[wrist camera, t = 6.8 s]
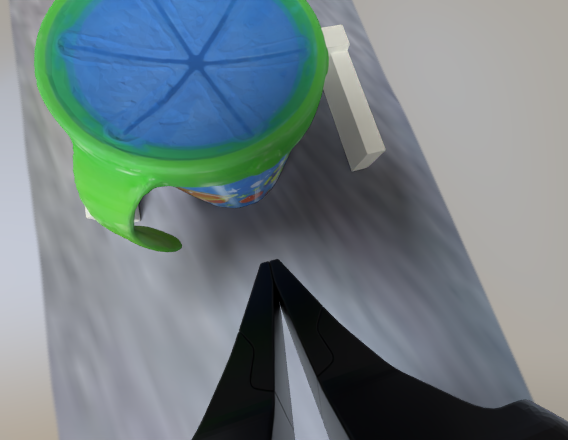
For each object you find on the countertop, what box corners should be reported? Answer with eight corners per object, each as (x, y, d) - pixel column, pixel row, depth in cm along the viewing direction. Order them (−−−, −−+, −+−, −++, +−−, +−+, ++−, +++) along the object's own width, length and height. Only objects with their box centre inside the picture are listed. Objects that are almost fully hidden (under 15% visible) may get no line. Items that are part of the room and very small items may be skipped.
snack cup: (237, 75, 19) (201, -126, 9) (331, 132, 19) (402, -17, 9) (122, 207, 16) (-123, 119, 6) (232, 281, 15) (163, 318, 5)
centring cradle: (367, 167, 18) (430, 107, 11) (120, 225, 16) (-5, 197, 9) (329, 63, 20) (361, -46, 13) (105, 101, 18) (-8, -6, 11)
